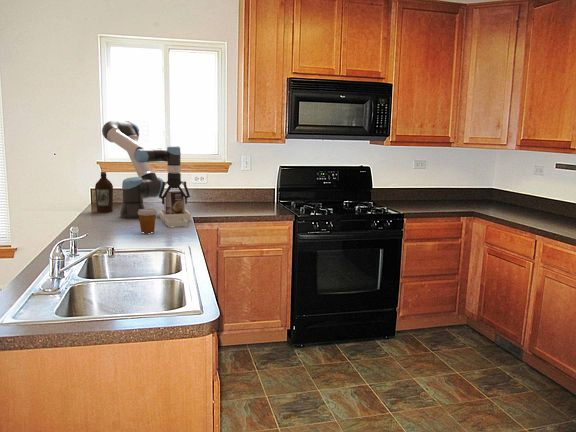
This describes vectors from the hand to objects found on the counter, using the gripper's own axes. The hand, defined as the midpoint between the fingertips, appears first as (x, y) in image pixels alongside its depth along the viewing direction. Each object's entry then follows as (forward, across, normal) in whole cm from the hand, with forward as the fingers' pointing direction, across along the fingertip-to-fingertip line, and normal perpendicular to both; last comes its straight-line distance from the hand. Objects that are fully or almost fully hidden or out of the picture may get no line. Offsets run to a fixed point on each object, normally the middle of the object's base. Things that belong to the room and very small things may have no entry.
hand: (174, 209), depth 296 cm
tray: (+6, -2, -20) cm, 20 cm away
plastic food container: (+5, 0, 0) cm, 5 cm away
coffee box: (+6, 0, 0) cm, 6 cm away
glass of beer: (+6, -19, -38) cm, 43 cm away
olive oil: (+6, -39, +34) cm, 52 cm away
